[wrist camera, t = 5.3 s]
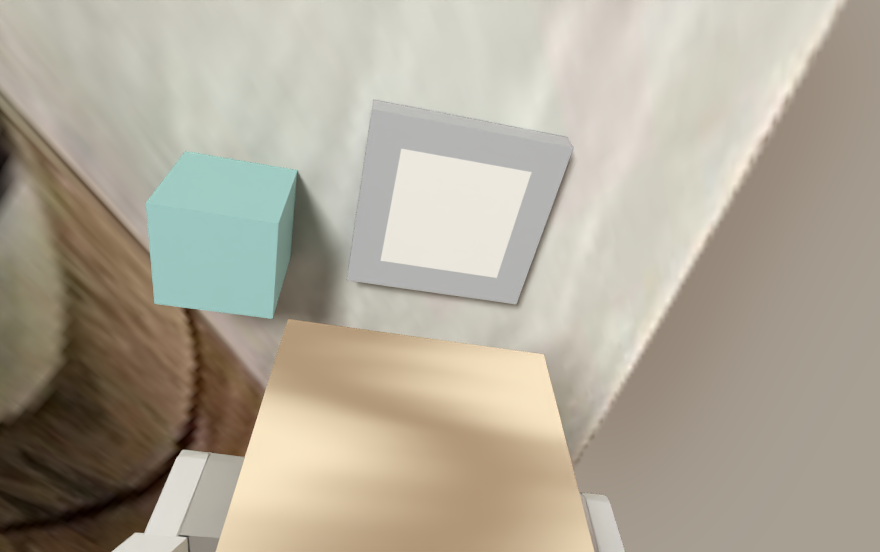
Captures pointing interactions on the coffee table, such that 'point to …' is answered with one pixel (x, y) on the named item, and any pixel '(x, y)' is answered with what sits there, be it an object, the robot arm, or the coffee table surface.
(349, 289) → the coffee table surface
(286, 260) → the teal cube
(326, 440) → the maple cube
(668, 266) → the coffee table surface
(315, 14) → the coffee table surface
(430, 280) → the plate
